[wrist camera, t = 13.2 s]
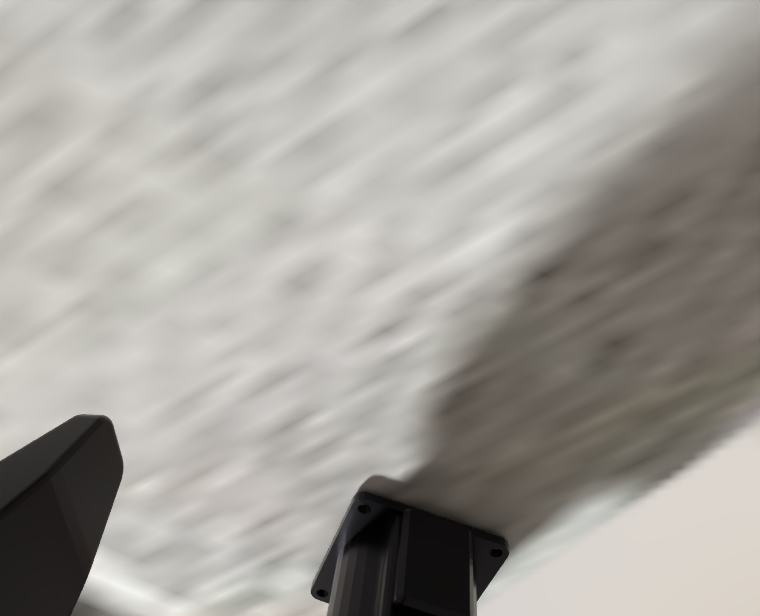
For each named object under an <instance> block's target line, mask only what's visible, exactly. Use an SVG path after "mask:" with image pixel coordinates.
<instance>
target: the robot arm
mask: <svg viewBox="0 0 760 616" xmlns="http://www.w3.org/2000/svg"><path fill="white" fill-rule="evenodd" d="M122 475H123V459H122V455H121V451H120V448H119V444H118V440H117V437H116V433H115V430H114V426H113V423H112V421H111V420H110V418H108V417H107V416H104V415H87V414H82V415H76V416H75V417H73V418H71V419H69V420H68V421H66V422H64V423H63V424H61V425H59V426H58V427H56V428H54V429H53V430H51V431H49V432H48V433H46V434H44V435H43V436H41V437H39V438H38V439H36V440H34V441H33V442H31V443H29V444H28V445H26V446H24V447H23V448H21V449H19V450H18V451H16V452H14V453H13V454H11V455H9V456H8V457H6V458H5V459H3V460H1V461H0V616H70V615H71V613H72V611H73V609H74V607H75V604H76V602H77V600H78V598H79V596H80V594H81V591H82V589H83V587H84V584H85V582H86V580H87V577H88V575H89V572H90V569H91V567H92V564H93V561H94V558H95V555H96V552H97V549H98V547H99V544H100V541H101V538H102V535H103V532H104V529H105V526H106V523H107V520H108V517H109V515H110V512H111V509H112V506H113V503H114V500H115V497H116V494H117V491H118V488H119V485H120V482H121V479H122ZM362 504H366V505H368V506H363V505H362ZM495 548H497V549H495ZM508 555H509V545H508V542H507V541H506V539H504V538H502V537H500V536H497V535H494V534H491V533H488V532H485V531H482V530H479V529H476V528H473V527H470V526H467V525H464V524H461V523H458V522H455V521H452V520H449V519H446V518H443V517H440V516H437V515H434V514H431V513H428V512H425V511H422V510H419V509H416V508H413V507H410V506H407V505H404V504H401V503H398V502H395V501H392V500H390V499H387V498H384V497H381V496H378V495H375V494H372V493H368V492H360V493H358V494H356V495H355V496H354V497H353V499H352V501H351V503H350V505H349V507H348V510H347V512H346V514H345V516H344V518H343V520H342V522H341V524H340V526H339V528H338V530H337V532H336V535H335V537H334V539H333V541H332V543H331V545H330V547H329V549H328V551H327V553H326V555H325V557H324V560H323V562H322V564H321V566H320V568H319V570H318V572H317V574H316V576H315V578H314V580H313V583H312V588H311V594H312V596H313V597H314V598H315V599H318V600H320V601H323V602H326V603H329V606H328V612H327V616H477V601H478V599H479V598H480V596H481V595H482V593H483V592H484V591H485V589H486V588H487V586H488V585H489V583H490V582H491V580H492V579H493V578H494V576H495V575H496V573H497V572H498V570H499V569H500V567H501V566H502V565H503V563H504V562H505V560H506V559H507V557H508Z"/></svg>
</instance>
